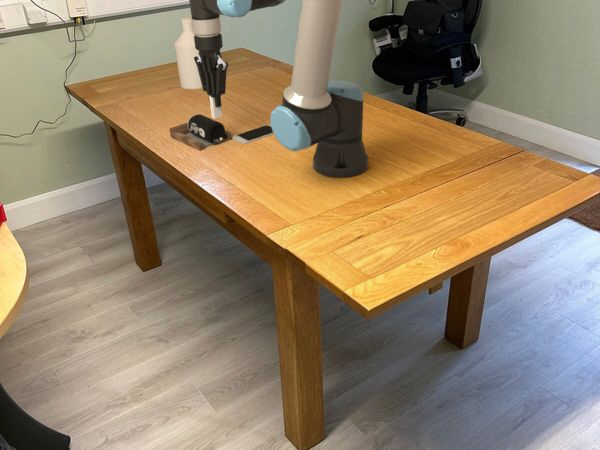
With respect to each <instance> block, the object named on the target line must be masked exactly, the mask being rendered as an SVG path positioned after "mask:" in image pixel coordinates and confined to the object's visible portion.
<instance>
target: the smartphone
mask: <svg viewBox="0 0 600 450" xmlns="http://www.w3.org/2000/svg"><path fill="white" fill-rule="evenodd" d="M272 135H275V134H274V133H273V130H272V127H271V123H269V124H265V125H262V126H259V127H256V128H253V129H250V130H246V131H243V132H241V133H238V134H235V135H232V139H231V140H234V141H236V142H238V143H240V144H242V145H245V144H249V143H252V142H254V141H258V140H261V139H263V138H267V137H270V136H272Z"/></svg>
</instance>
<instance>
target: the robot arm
mask: <svg viewBox="0 0 600 450" xmlns="http://www.w3.org/2000/svg"><path fill="white" fill-rule="evenodd" d="M188 1H189V8H190V15H191V17H192V27H193V33H194V34H196V35H195V36H194V42H195V48H196V49H197V50H198V51H199V55H198V56H196V57H194V60H195V62H196V65H197V68H198V72H199V76H200V80H201V84H202V88H201V89H202V91H203V92H206V94H207V95H208V101H209V108H210V111H211V112H210V114H211V115H210V116H211V119H212V118H213V119H217V118H218V119H219V118H220V117H223V111H222V98H221V96H222V95H225V94H226V87H227V86H226V85H227V72H228V71H227V70H228V67H229V63H228V62H227V61H224V60H223V59H222V54H221V49H222V48H223V46H224V45H223V35H222V33H221V31H222V28H221V27H222V26H221V16H225V17H230V18H243V17H245V16H246V15H247V14H248V13H249V12H253V11H256V10H262V9H265V8H273V7H277V6H279V5H282V4H283V3H285V2H286V0H188ZM343 1H344V0H302V1H301V8H300V15H299V22H298V30H297V36H296V37H297V38H296V45H295V53H294V60H293V65H292V66H293V67H292V74H291V82H290V85H289V86H287V87H285V89H284V90H283V95H282V102H281V105H277V106H276V107H275V108H274V109H273V110H272V111H271V113H270V121H269V122H270V124H271V127H272V130H273V133H274V134H273V135H274V137H275V139H276V140H277V141H278V142H279V144H280V145H281V146H282V147H283V148H285V149H287V150H289V151H292V152H298V151H303V150H307V149H309V148H310V147H312V146H314V145H316V147H315V152H314V154H313V157H312V168H313V170H315V172H316V173H318V174H321V175H322V176H326V177H331V178H348V177H349V178H350V177H351V178H352V177H356V176H358V175H361V174H363V173H364V172H366V171H367V170H368V168H369V156H368V154H367V152H366V147H365V143H364V141H363V125H364V124H363V123H364V120H363V119H364V101H365V100H364V90H363V88H362V87H361V85H359V84H358V83H355V82H352V81H346V80H339V79H338V80H335V79H334V80H333V79H332V80H331V79H330V74H331V67H332V62H333V56H334V52H335V46H336V39H337V36H338V35H337V34H338V28H339V24H340V18H341V13H342V12H341V11H342V8H343V7H342V6H343ZM220 15H221V16H220Z"/></svg>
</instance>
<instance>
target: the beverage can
mask: <svg viewBox="0 0 600 450" xmlns="http://www.w3.org/2000/svg"><path fill="white" fill-rule="evenodd" d="M187 123H188V129H189V130H190V132H191V133H192V134H194V135H196V136H198V137H200V138H202V139H204V140H206V141H208V142H211V143H214V144H213V145H216V144H218V143H221V142H222V141H221V140H222V139H223V138H224V135H225V131H226V129H225V126H224V124H223V123H221V122H219V121H217V120H215V119H214V118H213V119H212V118H210V117H207V116H205V115H203V114H201V113H200V114H194V115H192V116H190V117H189V119H188V121H187ZM220 141H221V142H220Z"/></svg>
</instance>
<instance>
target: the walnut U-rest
mask: <svg viewBox="0 0 600 450" xmlns="http://www.w3.org/2000/svg"><path fill="white" fill-rule="evenodd" d="M169 133H170V139H172V140H173V139H174V140H175V141H178V142H180V143H182V144H185V145H187V146H189V147H191V148H193V149H195V150H197V151H203V150H205V148H204V144H203V143H202V142H200V141H198V140H195V139H193V138H191V137H189V136H186V134H189V133H191V132H190V130H189V129H188V122H185V123H182V124H179V125H176V126H173V127H169ZM232 136H233V135H232V132H230V131H228V130H225V135H224V138H225V140H227V141H230V140H233V139H232Z"/></svg>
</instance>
